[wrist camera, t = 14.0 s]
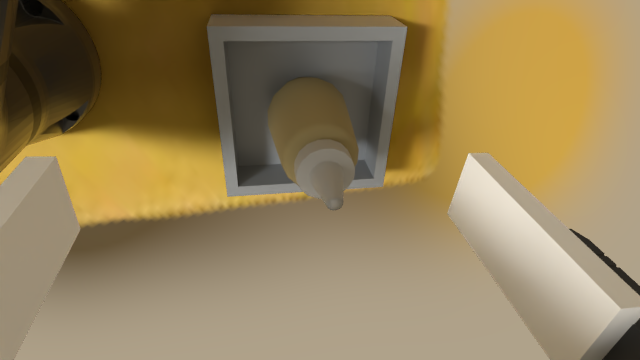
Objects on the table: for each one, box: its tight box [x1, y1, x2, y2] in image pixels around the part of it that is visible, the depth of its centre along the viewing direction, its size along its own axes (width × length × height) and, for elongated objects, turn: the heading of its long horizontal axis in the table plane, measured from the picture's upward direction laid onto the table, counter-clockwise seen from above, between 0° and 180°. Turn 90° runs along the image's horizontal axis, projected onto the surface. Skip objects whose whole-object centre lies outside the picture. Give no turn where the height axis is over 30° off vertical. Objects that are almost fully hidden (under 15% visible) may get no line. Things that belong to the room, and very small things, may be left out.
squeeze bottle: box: [268, 77, 359, 210], centre depth 34 cm, size 8×8×18 cm
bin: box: [207, 14, 407, 196], centre depth 40 cm, size 17×17×5 cm
